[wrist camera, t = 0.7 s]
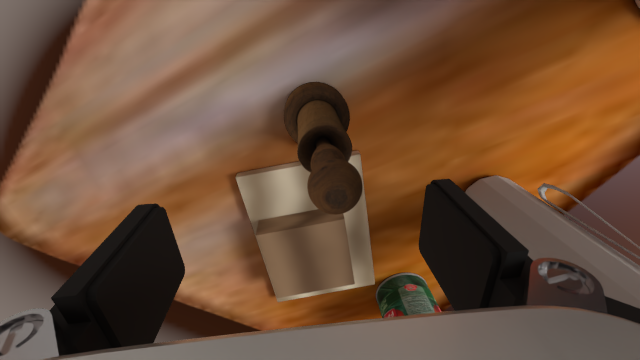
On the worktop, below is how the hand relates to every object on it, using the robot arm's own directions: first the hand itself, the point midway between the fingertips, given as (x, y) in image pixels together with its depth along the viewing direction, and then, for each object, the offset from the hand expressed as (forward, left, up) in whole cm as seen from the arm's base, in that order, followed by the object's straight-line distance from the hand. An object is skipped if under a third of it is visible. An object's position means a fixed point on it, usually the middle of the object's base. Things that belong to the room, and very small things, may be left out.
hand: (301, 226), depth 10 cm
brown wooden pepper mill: (-2, +1, -22) cm, 22 cm away
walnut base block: (+2, +17, -21) cm, 27 cm away
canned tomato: (-10, +30, -22) cm, 39 cm away
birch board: (+1, +16, -22) cm, 27 cm away
